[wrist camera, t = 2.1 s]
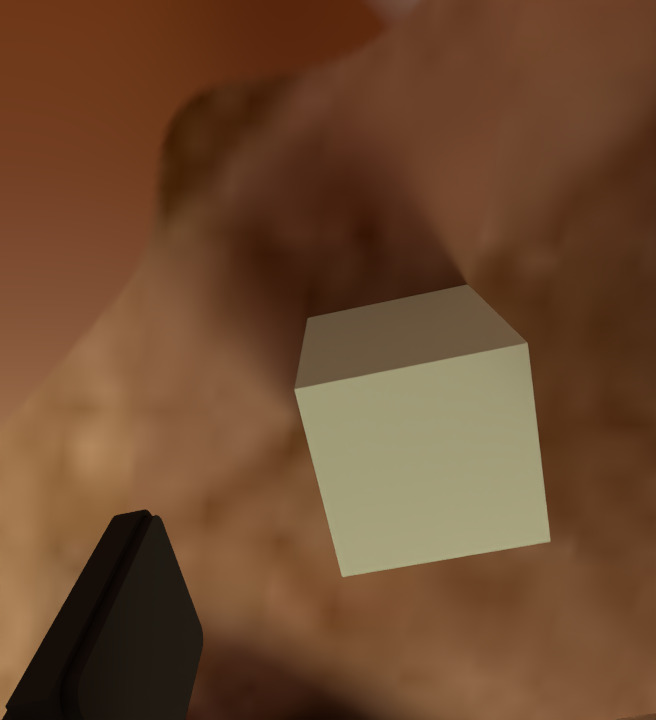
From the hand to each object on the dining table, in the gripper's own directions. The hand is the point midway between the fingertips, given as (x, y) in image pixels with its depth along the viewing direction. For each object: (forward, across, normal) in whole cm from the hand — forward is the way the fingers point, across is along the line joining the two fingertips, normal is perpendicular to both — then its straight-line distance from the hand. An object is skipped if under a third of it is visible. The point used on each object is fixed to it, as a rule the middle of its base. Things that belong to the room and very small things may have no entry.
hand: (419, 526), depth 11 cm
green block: (+9, -1, +1) cm, 9 cm away
